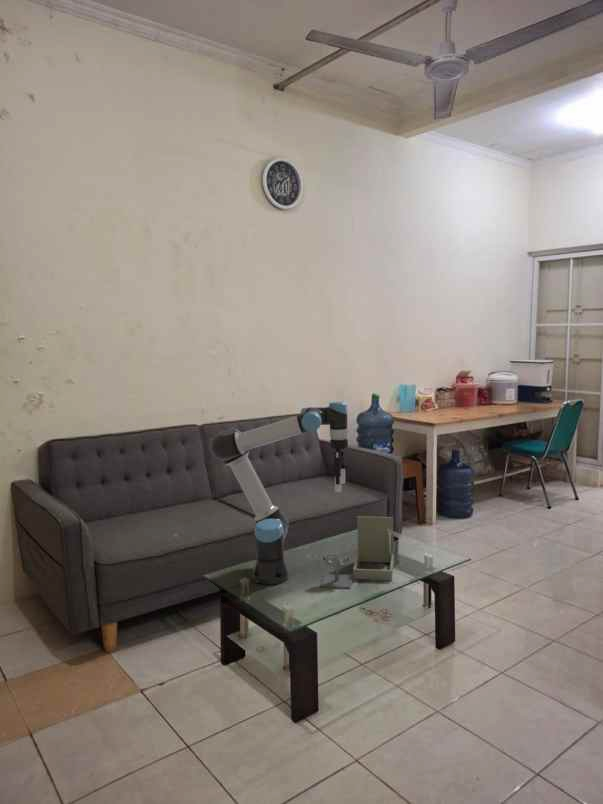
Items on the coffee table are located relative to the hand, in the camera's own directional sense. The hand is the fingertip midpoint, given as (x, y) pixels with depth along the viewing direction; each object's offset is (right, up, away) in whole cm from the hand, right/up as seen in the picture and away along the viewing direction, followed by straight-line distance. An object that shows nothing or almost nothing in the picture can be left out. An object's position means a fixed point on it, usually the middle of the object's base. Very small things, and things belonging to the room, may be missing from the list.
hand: (340, 487), depth 251 cm
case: (+14, -35, -2) cm, 38 cm away
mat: (-2, -36, -13) cm, 39 cm away
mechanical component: (-2, -36, -13) cm, 38 cm away
